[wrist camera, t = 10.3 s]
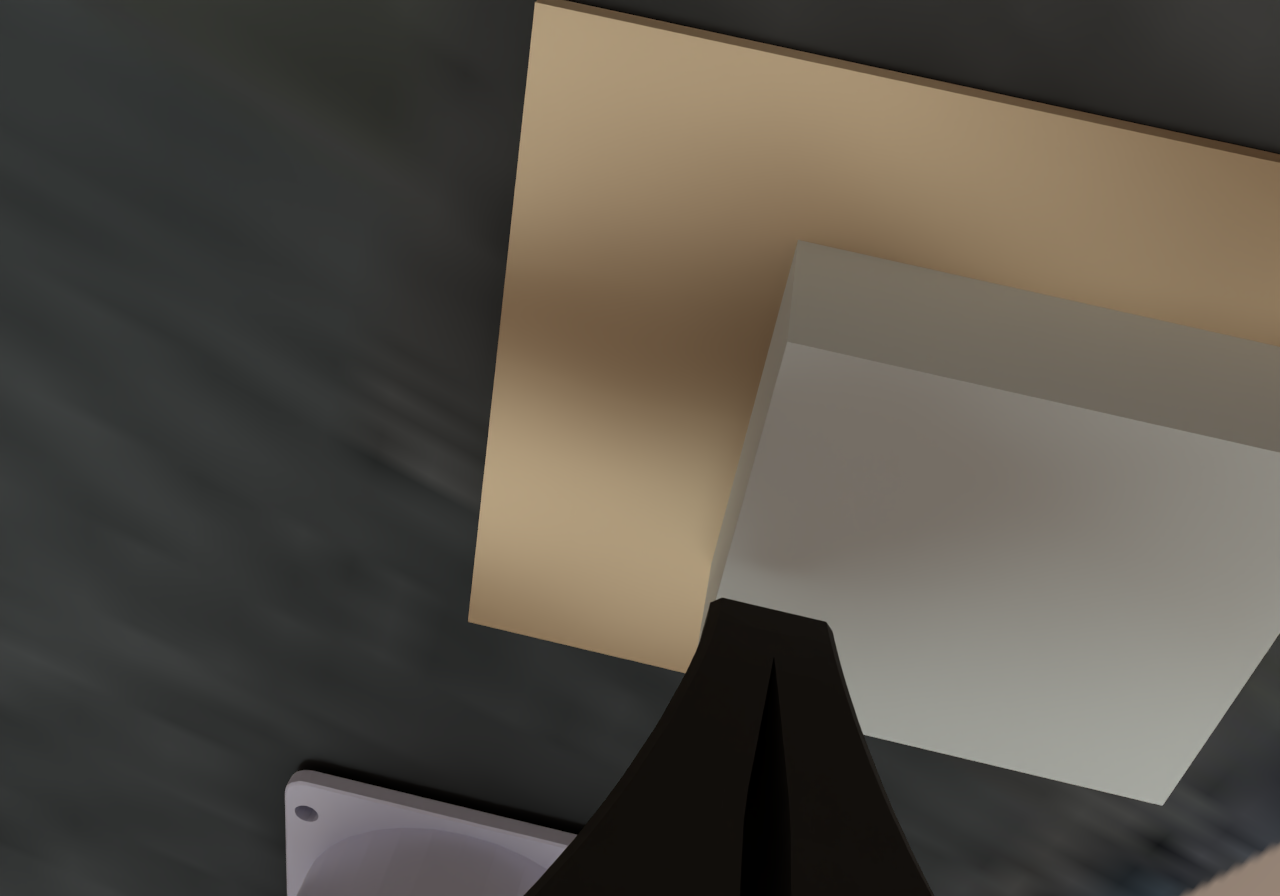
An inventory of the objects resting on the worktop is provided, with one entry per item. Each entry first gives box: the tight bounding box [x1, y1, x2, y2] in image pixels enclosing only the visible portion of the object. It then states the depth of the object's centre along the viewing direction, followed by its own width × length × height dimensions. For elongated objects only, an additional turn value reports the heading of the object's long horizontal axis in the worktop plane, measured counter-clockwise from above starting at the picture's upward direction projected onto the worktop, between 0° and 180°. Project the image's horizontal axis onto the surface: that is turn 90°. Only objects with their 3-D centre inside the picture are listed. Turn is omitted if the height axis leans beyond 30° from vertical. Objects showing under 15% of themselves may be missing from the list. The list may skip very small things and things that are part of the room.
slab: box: [698, 240, 1280, 806], centre depth 16 cm, size 6×3×7 cm
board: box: [468, 0, 1280, 673], centre depth 18 cm, size 11×12×1 cm
